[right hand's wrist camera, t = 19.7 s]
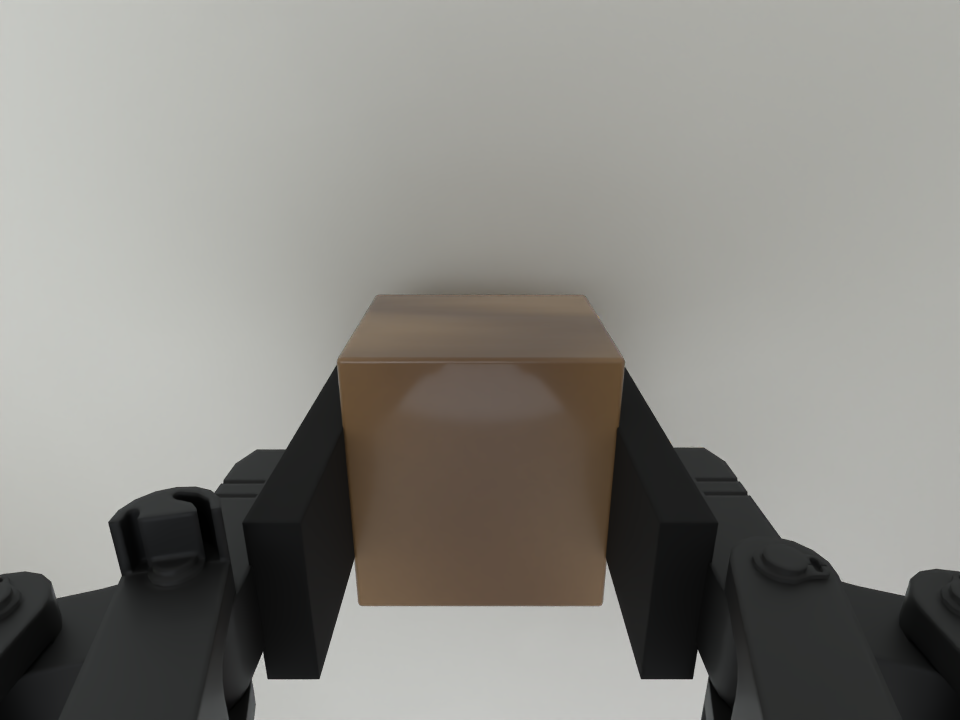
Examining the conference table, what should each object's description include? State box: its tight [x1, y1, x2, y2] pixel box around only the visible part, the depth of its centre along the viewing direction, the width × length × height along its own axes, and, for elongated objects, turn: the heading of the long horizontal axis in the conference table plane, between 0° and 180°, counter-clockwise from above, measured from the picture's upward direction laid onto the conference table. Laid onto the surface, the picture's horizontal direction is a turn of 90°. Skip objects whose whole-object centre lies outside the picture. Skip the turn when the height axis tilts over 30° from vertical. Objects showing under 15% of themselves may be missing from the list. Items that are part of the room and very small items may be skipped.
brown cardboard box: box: [337, 295, 625, 606], centre depth 13 cm, size 5×5×4 cm
